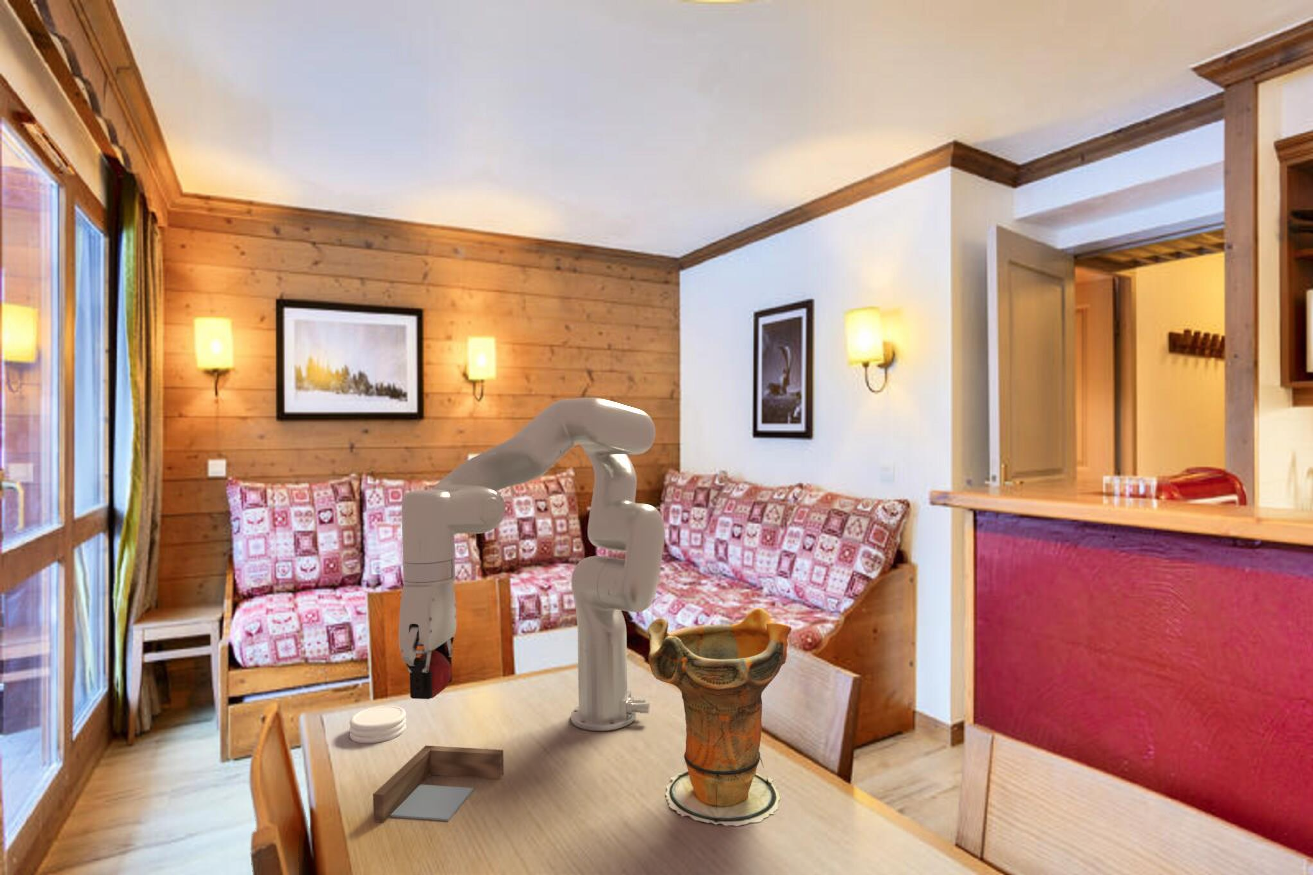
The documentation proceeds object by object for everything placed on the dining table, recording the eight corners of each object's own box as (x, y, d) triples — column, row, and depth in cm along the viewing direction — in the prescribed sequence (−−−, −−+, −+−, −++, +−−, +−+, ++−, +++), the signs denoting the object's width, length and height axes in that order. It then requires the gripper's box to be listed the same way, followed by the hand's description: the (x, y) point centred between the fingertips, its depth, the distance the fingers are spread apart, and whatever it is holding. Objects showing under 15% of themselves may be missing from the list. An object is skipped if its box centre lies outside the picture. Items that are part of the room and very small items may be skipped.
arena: (503, 773, 116) (503, 749, 116) (462, 828, 100) (461, 799, 100) (426, 769, 118) (425, 745, 118) (373, 821, 102) (373, 794, 102)
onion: (458, 691, 110) (457, 640, 110) (440, 706, 104) (438, 652, 104) (424, 689, 111) (423, 639, 111) (404, 703, 105) (403, 650, 105)
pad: (473, 789, 111) (473, 787, 111) (448, 820, 102) (448, 818, 102) (420, 786, 113) (420, 784, 113) (390, 816, 104) (390, 814, 104)
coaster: (352, 726, 137) (352, 708, 137) (407, 719, 140) (406, 701, 140) (347, 748, 127) (346, 729, 127) (405, 740, 130) (405, 721, 130)
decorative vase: (623, 775, 114) (630, 602, 114) (750, 758, 122) (756, 595, 122) (672, 846, 94) (679, 636, 95) (819, 819, 103) (825, 626, 103)
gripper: (432, 560, 116) (435, 670, 117) (375, 583, 99) (378, 711, 100) (475, 561, 115) (478, 671, 115) (425, 584, 98) (427, 713, 98)
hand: (431, 688), depth 107 cm, fingers closed on onion, 5 cm apart
